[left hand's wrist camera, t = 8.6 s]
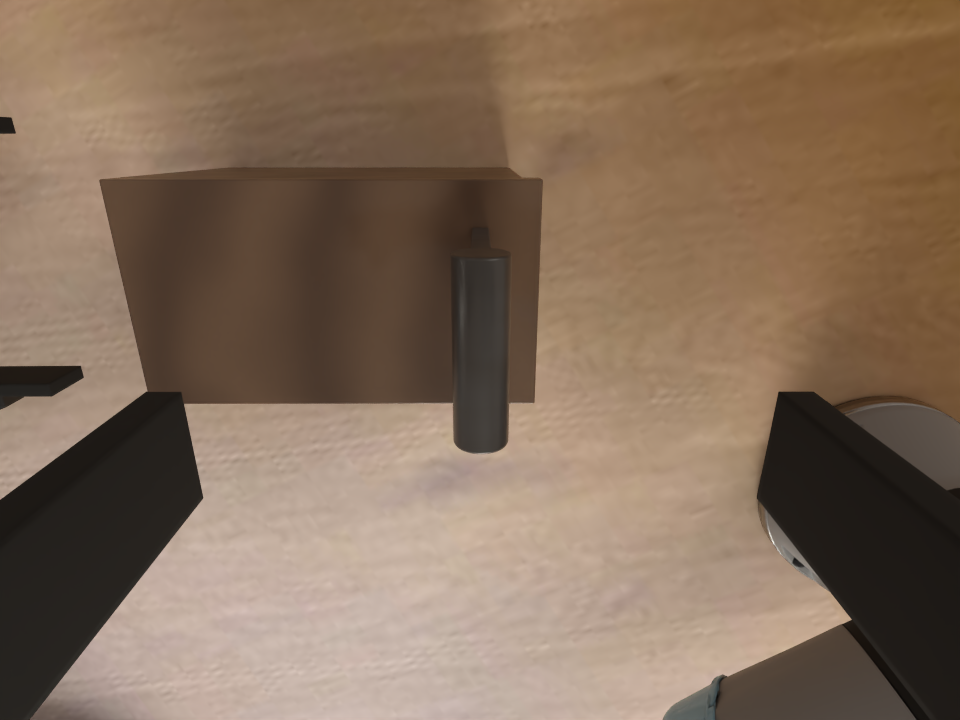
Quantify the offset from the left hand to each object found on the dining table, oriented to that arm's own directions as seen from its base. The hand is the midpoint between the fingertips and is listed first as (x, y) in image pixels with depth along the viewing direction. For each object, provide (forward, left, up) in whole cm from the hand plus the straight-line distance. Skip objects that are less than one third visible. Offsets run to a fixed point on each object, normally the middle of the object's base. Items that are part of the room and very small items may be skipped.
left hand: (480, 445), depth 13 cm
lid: (+6, 0, -14) cm, 15 cm away
